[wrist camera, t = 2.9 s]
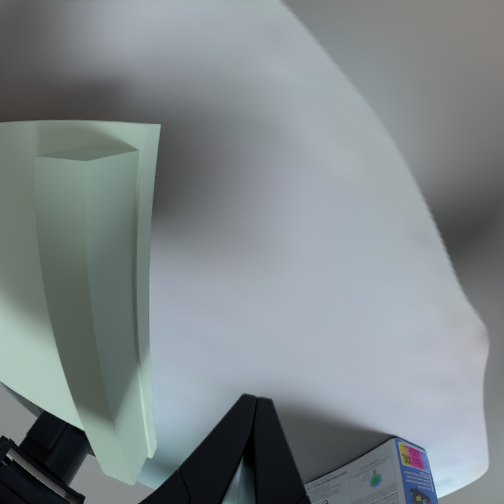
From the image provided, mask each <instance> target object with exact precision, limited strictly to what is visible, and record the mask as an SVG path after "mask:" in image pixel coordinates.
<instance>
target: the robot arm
mask: <svg viewBox="0 0 504 504" xmlns="http://www.w3.org/2000/svg"><path fill="white" fill-rule="evenodd" d="M37 406H38V405H37ZM38 408H39V410H40V412H41V415H40V416H39V417H38V419H37V420H36V421H35V423H34V424H33V425H32V427H31V428H30V429H29V431H28V432H27V434H26V437H25V438H24V440H23V441H22V442H21V444H20V445H19V446H17V445H16V444H15V442H14V441H13V440H12V439H7V438H6V437H4V436H1V438H0V504H83V503H84V500H85V496H83V495H82V494H80V493H77V492H76V491H74V490H73V489H72V488H70V487H69V486H70V484H71V482H72V480H73V478H74V477H75V475H76V473H77V471H78V470H79V468H80V466H81V465H82V463H83V461H84V459H85V458H86V456H87V454H90V455H92V456H95V454H94V451H93V449H92V447H91V445H90V442H89V440H88V438H87V435H86V433H85V431H84V430H82V429H80V428H78V427H76V426H74V425H72V424H70V423H68V422H66V421H64V420H62V419H60V418H59V417H57V416H55V415H53V414H51V413H50V412H48V411H46V410H44V409H43V408H41V407H39V406H38ZM7 453H8V454H9V455H11V456H12V457H13V458H14V459H15V460H16V461H17V462H19V463H20V464H21V465H22V466H23V467H25V468H26V469H27V470H28V471H29V472H31V473H32V474H33V475H34V476H36V477H37V478H38V479H39V480H41V481H42V482H43V483H45V484H46V485H47V486H49V487H50V488H52V489H53V490H54V491H56V492H57V493H59V494H60V495H61V496H60V495H59V494H57V493H56V492H54V491H53V490H52V489H50V488H49V487H47V486H46V485H45V484H43V483H42V482H41V481H39V480H38V479H37V478H36V477H34V476H33V475H32V474H31V473H29V472H28V471H27V470H26V469H24V468H23V467H22V466H21V465H20V464H18V463H17V462H16V461H15V460H14V459H12V460H10V459H9V458H8V457H7V456H6V454H7ZM95 457H96V456H95ZM241 460H242V463H241ZM240 463H241V472H240V484H239V496H238V504H312V503H311V501H310V498H309V496H308V495H306V494H307V491H306V488H305V486H304V483H303V481H302V478H301V475H300V473H299V470H298V468H297V465H296V462H295V460H294V457H293V455H292V452H291V449H290V447H289V444H288V441H287V439H286V436H285V433H284V431H283V428H282V425H281V422H280V420H279V417H278V414H277V412H276V409H275V406H274V403H273V401H272V399H270V398H265V397H258V398H257V396H255V395H251V394H246V393H244V394H242V395H241V397H240V398H239V399H238V400H237V401H236V403H235V404H234V405H233V406H232V407H231V409H230V410H229V411H228V412H227V413H226V415H225V416H224V417H223V418H222V419H221V420H220V422H219V423H218V424H217V425H216V426H215V427H214V429H213V430H212V431H211V432H210V433H209V434H208V436H207V437H206V438H205V439H204V440H203V441H202V442H201V443H200V445H199V446H198V447H197V448H196V449H195V450H194V451H193V452H192V453H191V455H190V456H189V457H188V458H187V459H186V460H185V461H184V462H183V463H182V464H181V465H180V467H179V468H178V470H176V471H175V472H174V473H173V474H172V475H171V476H170V477H169V478H168V479H167V480H166V481H165V482H164V483H163V484H162V485H161V486H160V487H159V488H157V489H156V490H155V491H154V492H153V493H152V494H150V495H149V496H148V497H146V498H145V499H144V500H143V501H141V502H140V503H138V504H224V502H225V500H226V498H227V495H228V493H229V490H230V488H231V485H232V483H233V481H234V478H235V476H236V473H237V471H238V468H239V465H240ZM62 496H63V497H64V498H63V497H62Z"/></svg>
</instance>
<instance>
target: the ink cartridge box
mask: <svg viewBox="0 0 504 504" xmlns="http://www.w3.org/2000/svg"><path fill="white" fill-rule="evenodd" d="M305 488H306V491H307V494H306V495H308V496H309V498H310V501H311V503H312V504H438V500H437V495H436V491H435V486H434V482H433V478H432V473H431V469H430V465H429V461H428V457H427V454H426V451H425V450H423V449H421V448H419V447H416V446H414V445H412V444H410V443H408V442H405V441H403V440H401V439H399V438H393V439H390V440H389V441H387V442H385V443H384V444H382V445H381V446H379V447H377V448H376V449H374V450H372V451H371V452H369V453H367V454H365V455H364V456H362V457H360V458H358V459H357V460H355V461H353V462H351V463H349V464H347V465H345V466H343V467H341V468H339V469H337V470H335V471H333V472H331V473H329V474H327V475H325V476H323V477H321V478H319V479H317V480H314V481H312V482H310V483H307V484H306V485H305Z"/></svg>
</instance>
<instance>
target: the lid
mask: <svg viewBox="0 0 504 504" xmlns="http://www.w3.org/2000/svg"><path fill="white" fill-rule="evenodd" d="M160 129H161V124H151V123H138V122H122V121H99V120H35V121H14V122H0V381H1V382H2V383H4V384H5V385H6V386H8V387H9V388H11V389H12V390H14V391H15V392H17V393H18V394H20V395H21V396H23V397H25V398H26V399H28V400H29V401H31V402H33V403H34V404H36V405H38V406H39V407H41V408H43V409H44V410H46V411H48V412H50V413H51V414H53V415H55V416H57V417H59V418H60V419H62V420H64V421H66V422H68V423H70V424H72V425H74V426H76V427H78V428H80V429H82V430H84V431H85V433H86V435H87V438H88V440H89V442H90V445H91V447H92V449H93V451H94V454H95V456H96V458H97V460H98V462H99V464H100V466H101V468H102V470H103V472H104V474H106V475H108V476H110V477H113V478H115V479H117V480H120V481H122V482H124V483H127V484H130V485H132V486H134V485H135V482H136V480H137V478H138V476H139V473H140V471H141V469H142V467H143V464H144V462H145V460H146V458H147V457H148V458H151V459H152V457H153V455H154V453H155V450H156V448H157V440H156V431H155V421H154V410H153V398H152V384H151V366H150V340H149V266H150V239H151V221H152V206H153V193H154V182H155V171H156V162H157V153H158V144H159V136H160Z"/></svg>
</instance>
